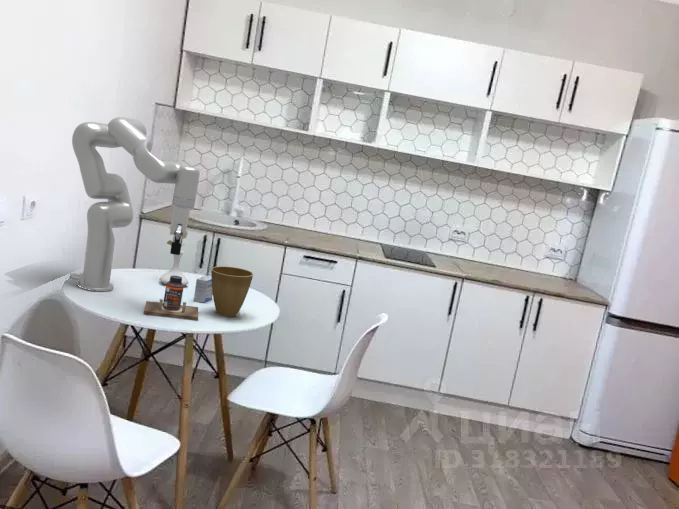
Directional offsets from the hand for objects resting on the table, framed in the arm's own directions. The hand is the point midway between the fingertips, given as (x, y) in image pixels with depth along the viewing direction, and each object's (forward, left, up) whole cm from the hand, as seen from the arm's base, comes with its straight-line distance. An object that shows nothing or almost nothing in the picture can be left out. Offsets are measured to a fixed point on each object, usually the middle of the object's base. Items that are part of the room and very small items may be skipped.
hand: (175, 251), depth 236 cm
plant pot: (+20, +3, -21) cm, 30 cm away
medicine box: (+12, +19, -21) cm, 31 cm away
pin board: (+1, -3, -21) cm, 21 cm away
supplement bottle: (+1, -2, -20) cm, 20 cm away
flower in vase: (0, +39, -21) cm, 45 cm away
